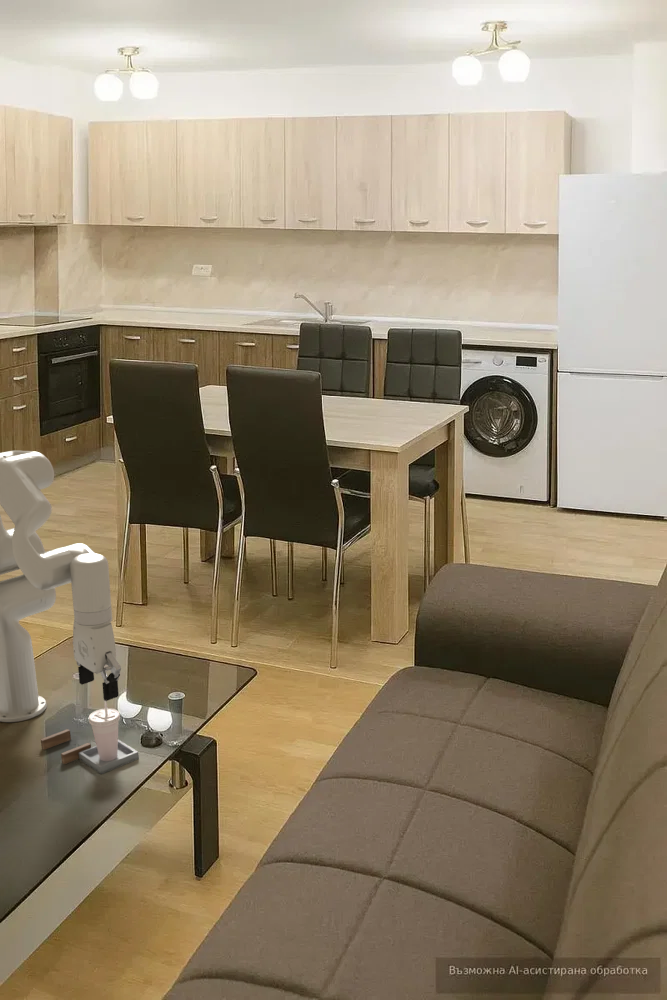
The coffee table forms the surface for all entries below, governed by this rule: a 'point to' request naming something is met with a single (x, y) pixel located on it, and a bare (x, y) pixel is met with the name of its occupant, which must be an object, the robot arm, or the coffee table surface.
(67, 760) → the brown parallel rails
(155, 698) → the coffee table surface
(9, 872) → the coffee table surface
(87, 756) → the tray
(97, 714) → the smoothie
